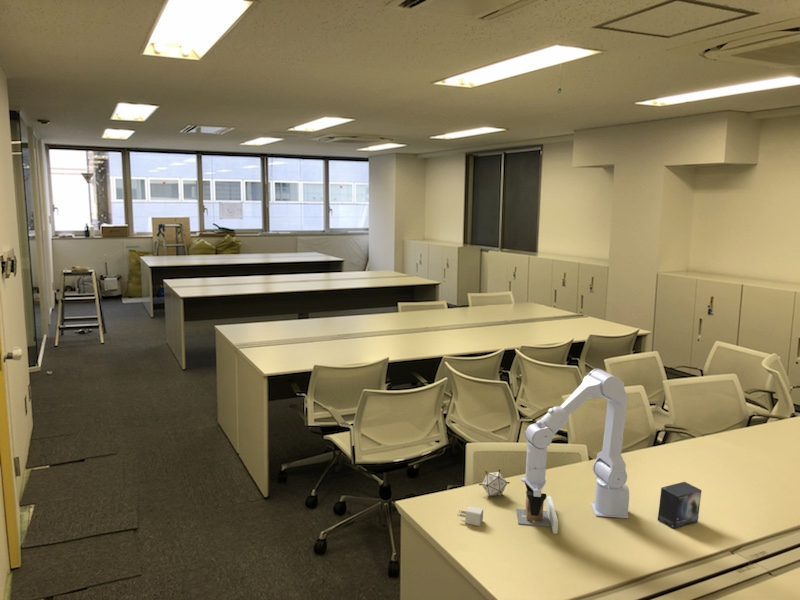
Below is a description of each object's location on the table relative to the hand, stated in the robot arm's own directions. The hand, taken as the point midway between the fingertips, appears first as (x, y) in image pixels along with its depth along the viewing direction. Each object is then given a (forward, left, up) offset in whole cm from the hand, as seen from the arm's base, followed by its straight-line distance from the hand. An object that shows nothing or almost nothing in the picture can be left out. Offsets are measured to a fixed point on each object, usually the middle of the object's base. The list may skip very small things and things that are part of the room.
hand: (533, 508), depth 183 cm
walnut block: (0, 0, -2) cm, 3 cm away
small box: (-43, -5, -3) cm, 43 cm away
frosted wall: (-6, 0, -3) cm, 6 cm away
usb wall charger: (+19, +5, -3) cm, 20 cm away
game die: (+11, -13, -3) cm, 17 cm away
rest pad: (0, 0, -3) cm, 3 cm away
